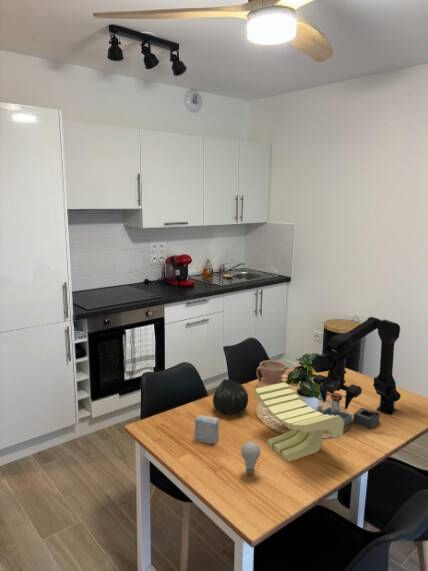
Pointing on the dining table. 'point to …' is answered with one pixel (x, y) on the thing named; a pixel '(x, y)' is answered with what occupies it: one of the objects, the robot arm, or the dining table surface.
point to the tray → (343, 415)
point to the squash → (230, 398)
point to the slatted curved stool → (296, 422)
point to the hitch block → (366, 418)
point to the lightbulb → (250, 455)
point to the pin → (335, 403)
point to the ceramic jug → (271, 373)
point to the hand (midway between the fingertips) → (335, 405)
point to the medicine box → (206, 429)
